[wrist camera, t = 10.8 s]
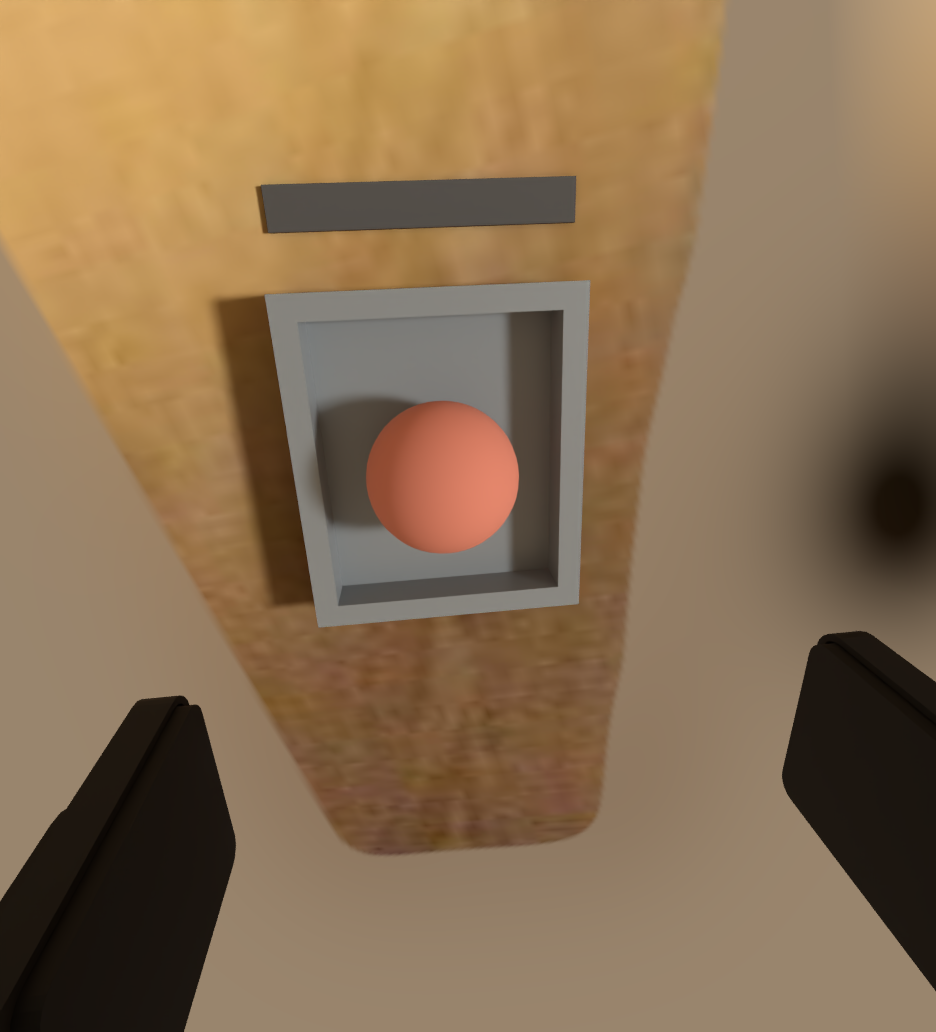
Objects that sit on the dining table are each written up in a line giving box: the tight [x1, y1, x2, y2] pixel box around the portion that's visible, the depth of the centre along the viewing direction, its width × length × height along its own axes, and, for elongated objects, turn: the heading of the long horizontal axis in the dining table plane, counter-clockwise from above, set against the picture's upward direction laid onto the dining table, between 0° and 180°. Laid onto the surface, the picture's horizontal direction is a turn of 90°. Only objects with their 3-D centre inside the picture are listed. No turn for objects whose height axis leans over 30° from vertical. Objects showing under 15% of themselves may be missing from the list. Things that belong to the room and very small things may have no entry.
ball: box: [366, 401, 519, 554], centre depth 22 cm, size 6×6×6 cm
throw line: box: [261, 176, 576, 233], centre depth 22 cm, size 2×12×1 cm, turn 92°
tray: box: [265, 280, 590, 628], centre depth 25 cm, size 14×12×2 cm
